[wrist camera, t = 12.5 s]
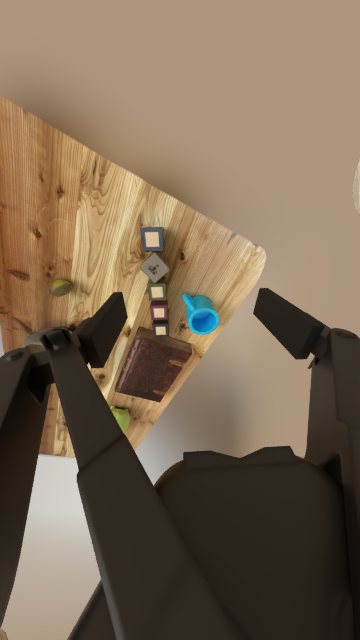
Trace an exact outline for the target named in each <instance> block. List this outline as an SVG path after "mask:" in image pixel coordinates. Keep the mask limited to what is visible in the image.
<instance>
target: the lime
mask: <svg viewBox="0 0 360 640" xmlns="http://www.w3.org/2000/svg"><path fill="white" fill-rule="evenodd" d="M71 289H72V284H71V283H70V282H68V281H66V280H63V279H57V280H55V281H53V282H52V283H51V284H50V286H49V291H50V293H51V294H52V295H53V296H56V297H60V296H63V295H65V294H67V293H68V292H70V290H71Z"/></svg>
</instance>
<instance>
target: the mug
mask: <svg viewBox="0 0 360 640" xmlns="http://www.w3.org/2000/svg"><path fill="white" fill-rule="evenodd" d="M182 298H183V300H184V302H185V303H186V313H187V319H188V325H189V328H190V329H191V331H193V332H194V333H196V334H200V335H204V334H209V333H211V332H213V331H214V330H215V329H216V328H217V326H218V324H219V316H218V314H217V312H216V310H215V309H214V307H213V305H212V303H211V301H210V300H209V299H208V298H207V297H205V296H196V297H193V298H191V297H190V296H189V295H188V294H186V293H184V294H183V296H182Z"/></svg>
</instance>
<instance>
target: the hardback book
mask: <svg viewBox="0 0 360 640" xmlns="http://www.w3.org/2000/svg"><path fill="white" fill-rule="evenodd" d="M191 355H192V349H191V344H188V343H185V342H182V341H180V340H177V339H174V338H171V337H168V336H166V337H154V333H153V331H151V330H148V329H145V328H143V327H139V328H138V330H137V333H136V335H135V338H134V340H133V343H132V346H131V348H130V351H129V353H128V356H127V358H126V361H125V363H124V366H123V368H122V371H121V373H120V376H119V379H118V381H117V384H116V387H115V392H119V393H123V394H127V395H132V396H136V397H140V398H144V399H148V400H152V401H156V402H161V400H162V399H163V397H164V395H165V394H166V392H167V391H168V389H169V388H170V386H171V385H172V383H173V382H174V380H175V379H176V377H177V376H178V374H179V373H180V371H181V370H182V368H183V367H184V365H185V364H186V362H187V361H188V359H189V358H190V356H191Z"/></svg>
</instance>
